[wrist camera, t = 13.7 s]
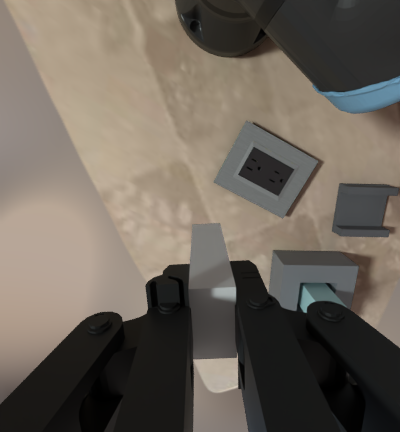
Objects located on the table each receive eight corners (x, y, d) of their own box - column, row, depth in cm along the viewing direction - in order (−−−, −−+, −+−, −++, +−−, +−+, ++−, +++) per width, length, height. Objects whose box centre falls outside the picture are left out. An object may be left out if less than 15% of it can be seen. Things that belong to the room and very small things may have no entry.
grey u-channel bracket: (339, 183, 46) (349, 186, 43) (386, 184, 46) (399, 187, 43) (331, 231, 48) (340, 236, 45) (376, 232, 49) (388, 237, 46)
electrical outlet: (313, 160, 45) (319, 161, 43) (279, 215, 48) (283, 219, 46) (244, 121, 44) (247, 120, 41) (212, 180, 46) (213, 182, 44)
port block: (273, 250, 49) (284, 266, 43) (339, 251, 49) (360, 267, 43) (266, 309, 52) (276, 331, 46) (329, 310, 53) (347, 332, 46)
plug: (294, 273, 49) (318, 306, 40) (317, 273, 49) (347, 306, 40) (291, 294, 50) (314, 330, 41) (313, 294, 50) (342, 330, 41)
